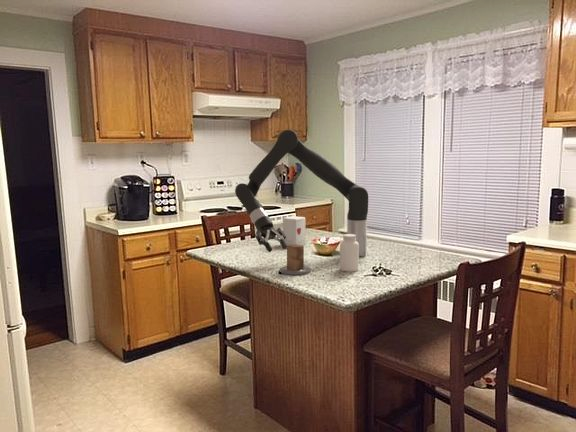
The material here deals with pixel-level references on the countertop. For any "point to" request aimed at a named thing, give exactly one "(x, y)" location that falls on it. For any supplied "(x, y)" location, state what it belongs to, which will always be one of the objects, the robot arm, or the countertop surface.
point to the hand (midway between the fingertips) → (278, 249)
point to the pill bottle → (349, 253)
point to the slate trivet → (291, 272)
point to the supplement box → (294, 230)
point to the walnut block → (295, 257)
